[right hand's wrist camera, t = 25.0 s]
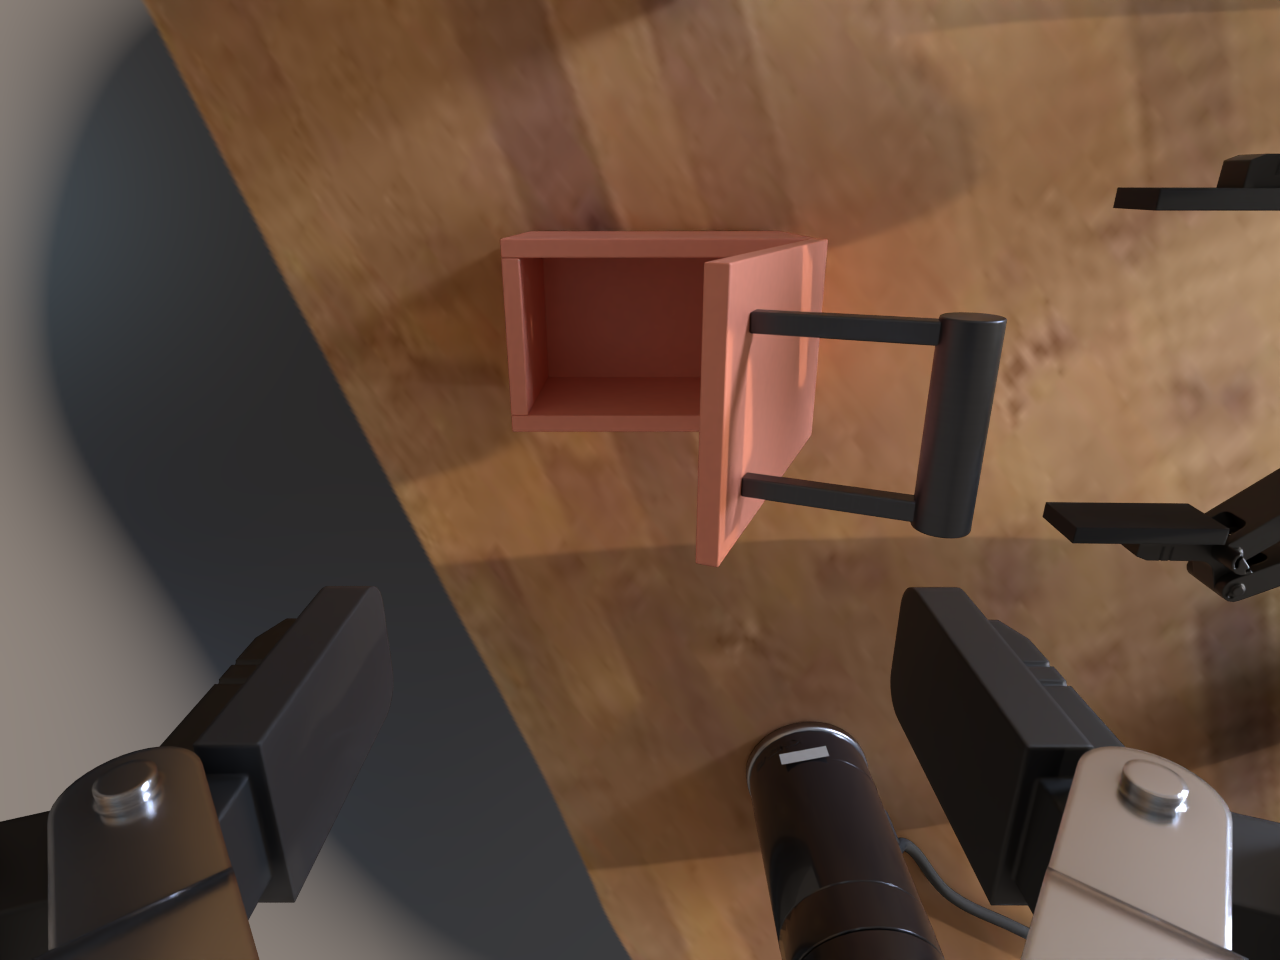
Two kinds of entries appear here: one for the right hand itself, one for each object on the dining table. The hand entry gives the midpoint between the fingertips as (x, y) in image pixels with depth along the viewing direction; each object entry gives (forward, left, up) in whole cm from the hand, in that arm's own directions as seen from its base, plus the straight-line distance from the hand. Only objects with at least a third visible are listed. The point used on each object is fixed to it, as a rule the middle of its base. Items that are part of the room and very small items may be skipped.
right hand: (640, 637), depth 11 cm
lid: (-3, -4, -19) cm, 20 cm away
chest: (-1, -1, -37) cm, 37 cm away
